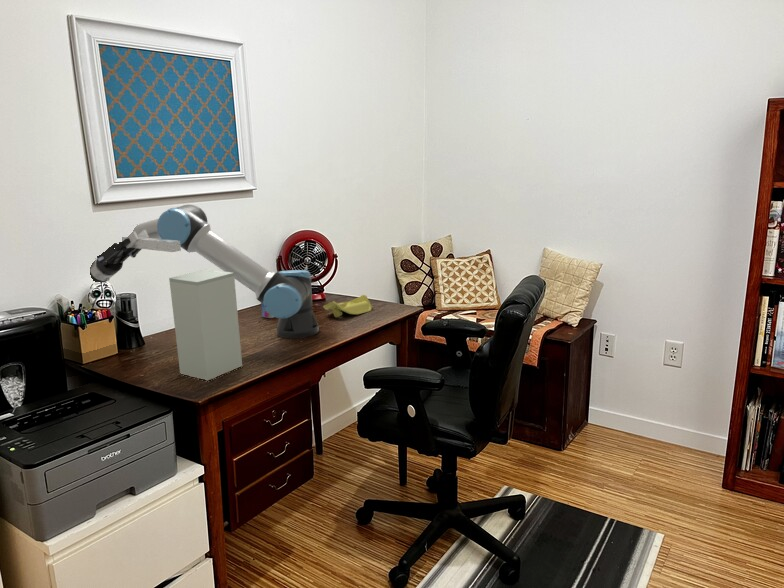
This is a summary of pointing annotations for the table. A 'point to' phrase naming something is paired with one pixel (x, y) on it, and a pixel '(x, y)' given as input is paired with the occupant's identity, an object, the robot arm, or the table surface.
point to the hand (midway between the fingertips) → (141, 234)
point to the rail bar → (156, 244)
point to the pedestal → (206, 323)
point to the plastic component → (350, 306)
